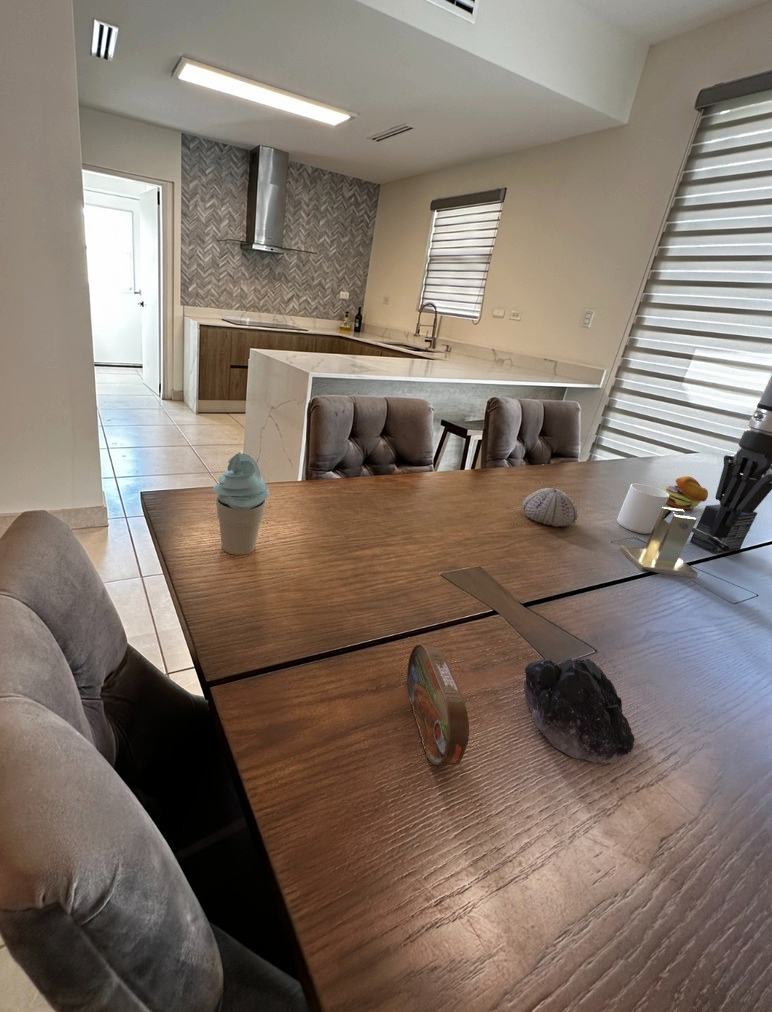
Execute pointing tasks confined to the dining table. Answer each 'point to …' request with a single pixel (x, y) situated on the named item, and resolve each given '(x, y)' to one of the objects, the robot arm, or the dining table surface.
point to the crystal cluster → (578, 709)
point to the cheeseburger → (686, 493)
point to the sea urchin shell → (550, 507)
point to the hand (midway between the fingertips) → (717, 535)
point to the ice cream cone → (240, 504)
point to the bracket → (665, 546)
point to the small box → (734, 535)
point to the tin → (437, 705)
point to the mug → (642, 508)
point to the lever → (703, 535)
